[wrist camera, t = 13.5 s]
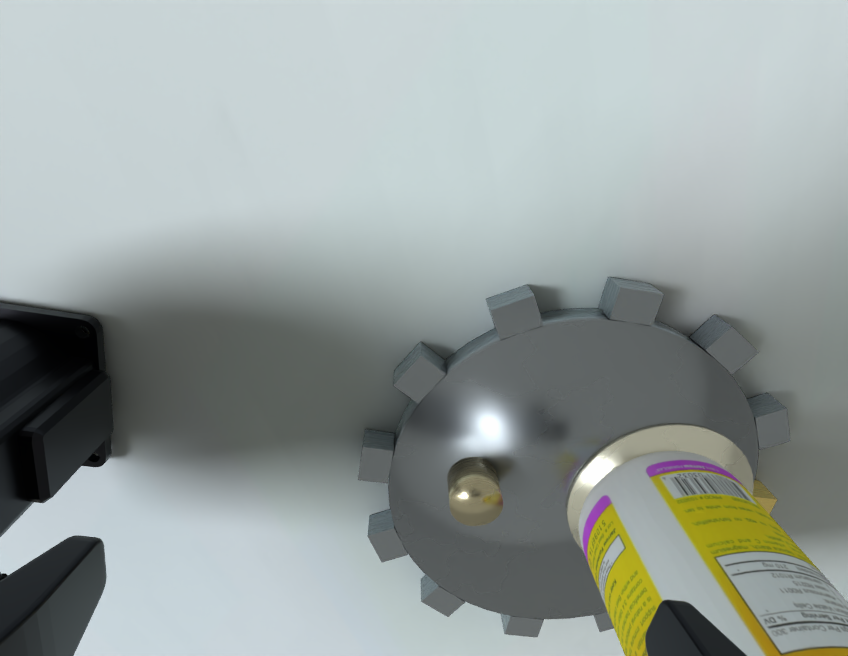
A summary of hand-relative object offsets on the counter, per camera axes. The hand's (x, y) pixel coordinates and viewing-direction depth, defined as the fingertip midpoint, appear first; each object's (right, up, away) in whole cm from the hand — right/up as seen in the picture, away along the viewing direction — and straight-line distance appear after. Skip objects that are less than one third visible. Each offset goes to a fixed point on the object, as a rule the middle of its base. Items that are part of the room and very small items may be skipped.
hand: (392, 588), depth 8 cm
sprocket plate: (+7, -2, +14) cm, 16 cm away
